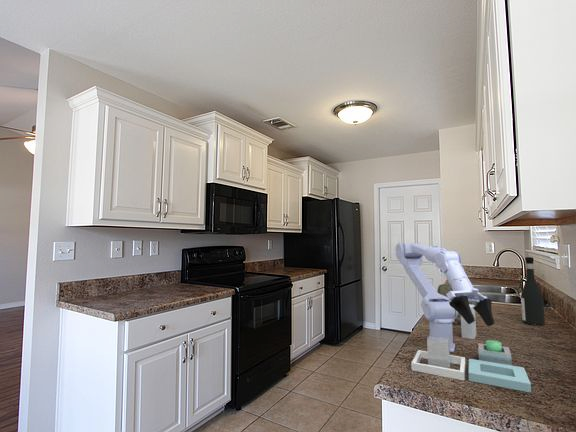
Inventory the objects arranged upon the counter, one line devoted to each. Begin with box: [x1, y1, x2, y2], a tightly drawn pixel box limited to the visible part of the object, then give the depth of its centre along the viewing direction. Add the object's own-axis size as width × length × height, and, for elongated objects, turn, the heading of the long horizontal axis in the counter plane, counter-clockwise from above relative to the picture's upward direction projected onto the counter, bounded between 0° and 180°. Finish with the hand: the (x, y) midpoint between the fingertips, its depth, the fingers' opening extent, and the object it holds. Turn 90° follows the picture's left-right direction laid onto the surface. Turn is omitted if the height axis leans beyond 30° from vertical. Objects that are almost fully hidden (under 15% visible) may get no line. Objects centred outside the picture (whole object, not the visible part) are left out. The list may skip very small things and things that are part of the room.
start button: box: [485, 339, 502, 352], centre depth 95 cm, size 4×4×4 cm
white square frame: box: [410, 349, 466, 381], centre depth 91 cm, size 13×13×2 cm
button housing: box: [477, 342, 513, 366], centre depth 95 cm, size 8×8×4 cm
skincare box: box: [460, 304, 477, 340], centre depth 122 cm, size 6×4×12 cm
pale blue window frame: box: [468, 358, 532, 393], centre depth 84 cm, size 12×13×2 cm
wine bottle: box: [520, 256, 546, 326], centre depth 144 cm, size 8×8×30 cm
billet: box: [426, 335, 451, 369], centre depth 91 cm, size 4×6×8 cm
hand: (481, 323), depth 90 cm, fingers open, 7 cm apart
